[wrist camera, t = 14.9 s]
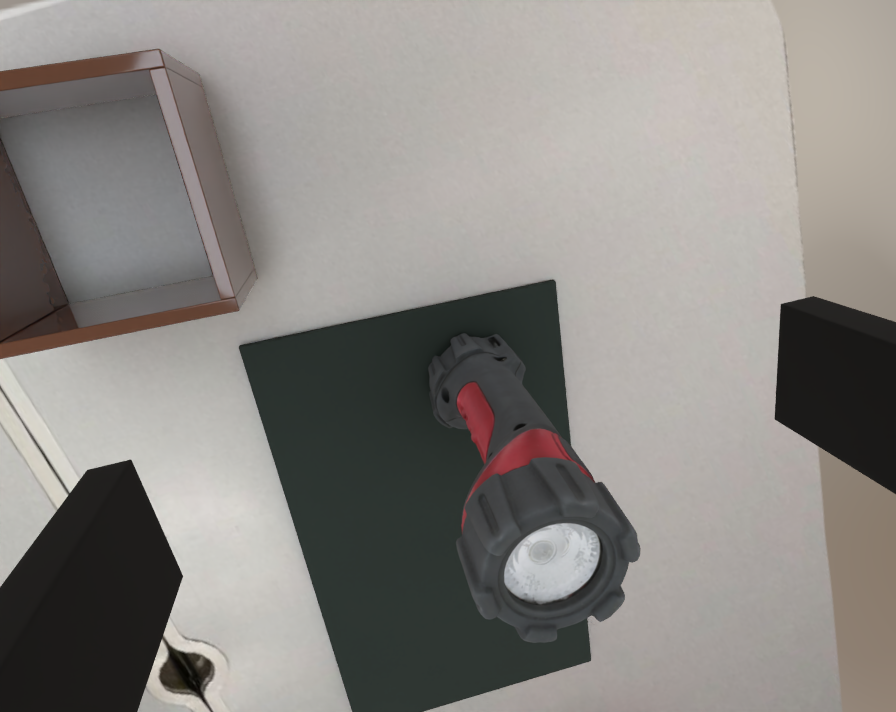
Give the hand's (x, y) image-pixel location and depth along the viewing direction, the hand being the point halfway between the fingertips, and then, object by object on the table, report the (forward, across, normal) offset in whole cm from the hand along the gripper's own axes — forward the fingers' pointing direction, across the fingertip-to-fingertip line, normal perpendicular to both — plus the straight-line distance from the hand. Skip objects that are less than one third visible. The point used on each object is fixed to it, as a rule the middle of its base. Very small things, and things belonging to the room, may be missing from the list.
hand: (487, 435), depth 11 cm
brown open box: (+31, -15, +5) cm, 35 cm away
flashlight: (+31, +4, -12) cm, 34 cm away
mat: (+31, 0, -26) cm, 41 cm away
